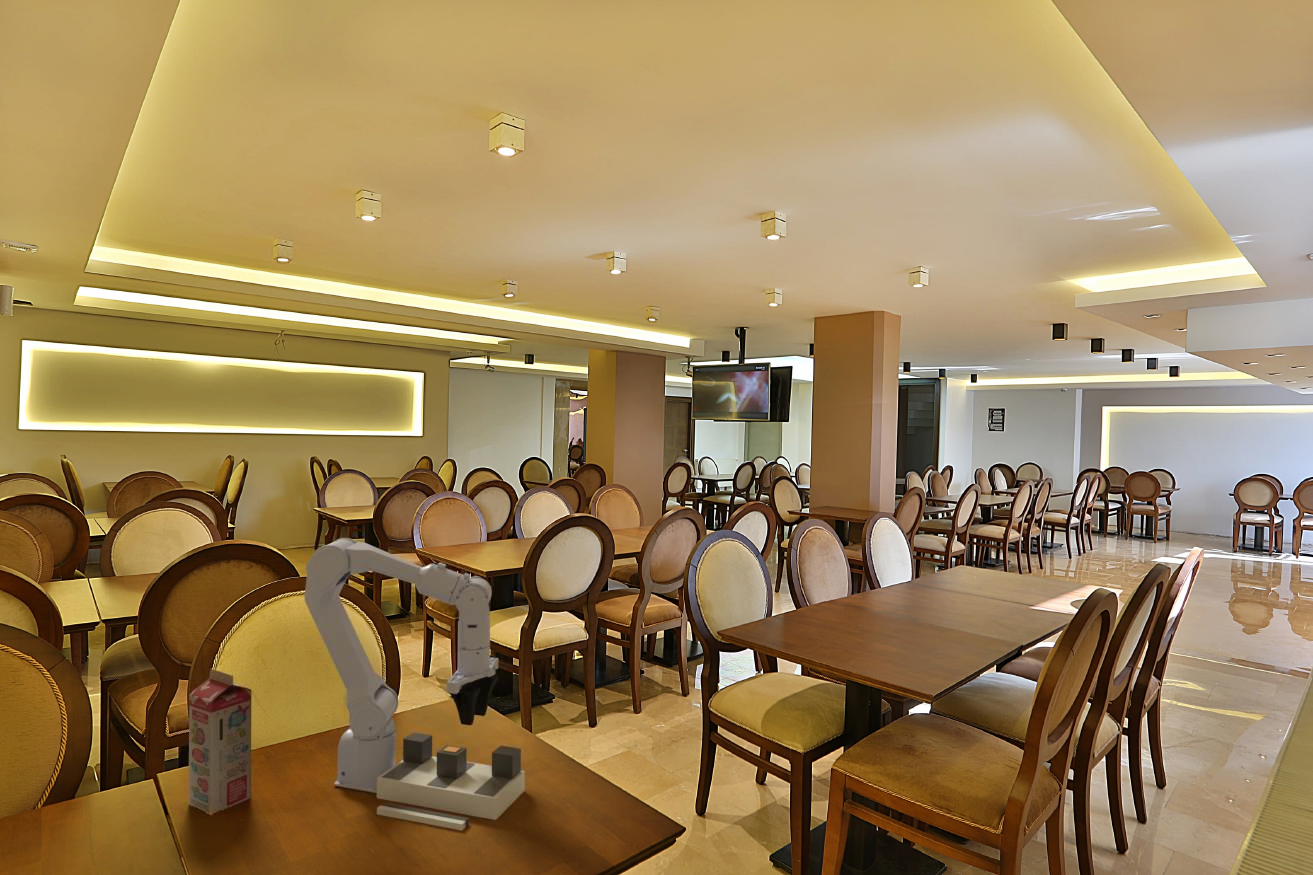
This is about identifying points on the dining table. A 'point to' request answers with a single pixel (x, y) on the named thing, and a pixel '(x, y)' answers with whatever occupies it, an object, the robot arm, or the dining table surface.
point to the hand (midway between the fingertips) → (473, 719)
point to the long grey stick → (423, 816)
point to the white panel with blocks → (453, 781)
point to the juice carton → (219, 743)
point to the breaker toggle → (451, 761)
